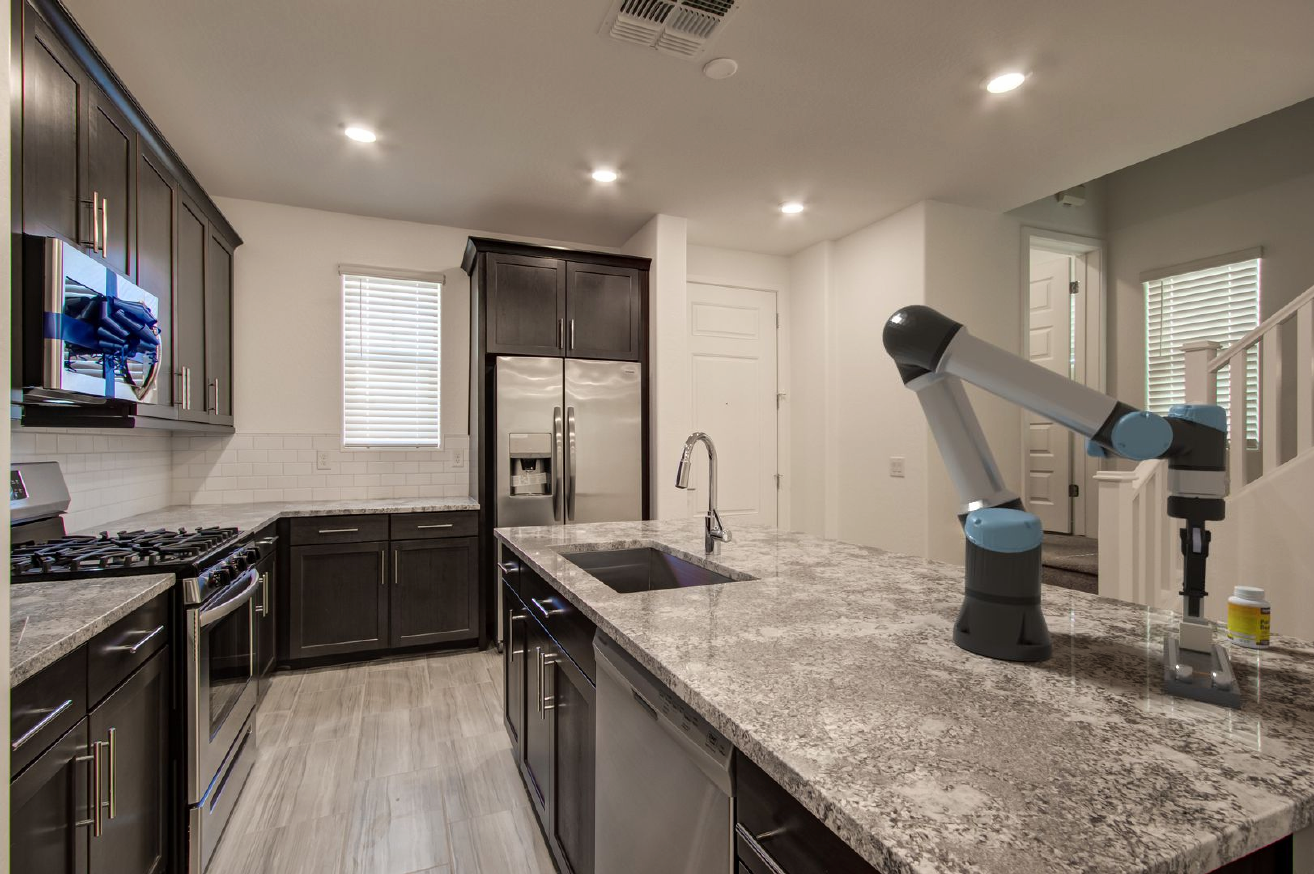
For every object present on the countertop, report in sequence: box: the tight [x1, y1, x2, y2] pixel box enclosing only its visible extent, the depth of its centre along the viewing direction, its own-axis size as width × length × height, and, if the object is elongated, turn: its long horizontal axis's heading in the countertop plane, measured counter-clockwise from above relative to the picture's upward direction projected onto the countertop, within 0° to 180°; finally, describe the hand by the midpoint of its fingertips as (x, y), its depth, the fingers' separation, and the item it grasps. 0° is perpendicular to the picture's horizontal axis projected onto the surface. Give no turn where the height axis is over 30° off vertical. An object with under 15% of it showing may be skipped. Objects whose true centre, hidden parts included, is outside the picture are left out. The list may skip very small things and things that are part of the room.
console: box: [1162, 636, 1242, 710], centre depth 97 cm, size 8×26×4 cm, turn 141°
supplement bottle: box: [1227, 585, 1271, 650], centre depth 113 cm, size 6×6×10 cm
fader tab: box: [1178, 618, 1213, 653], centre depth 103 cm, size 4×3×5 cm
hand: (1192, 634), depth 106 cm, fingers closed
